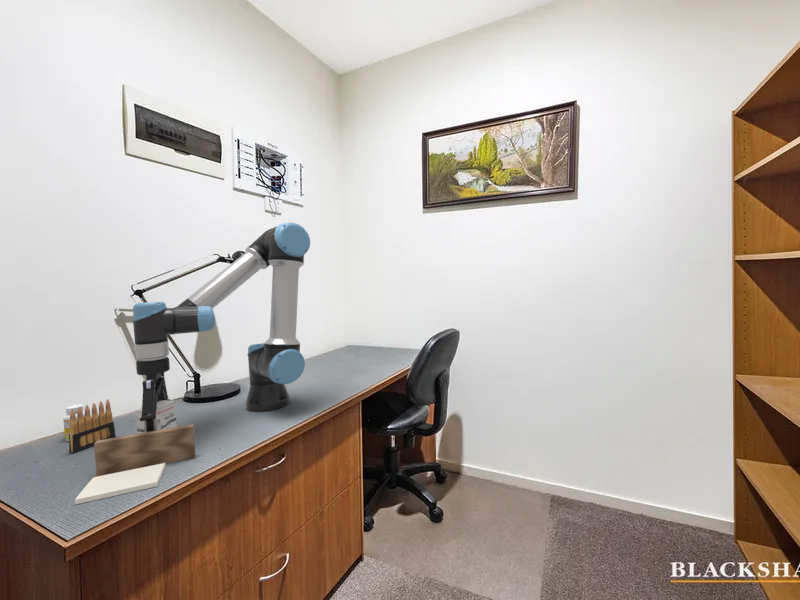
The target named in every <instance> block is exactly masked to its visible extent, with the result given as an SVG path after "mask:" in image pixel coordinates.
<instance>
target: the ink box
mask: <svg viewBox="0 0 800 600" xmlns="http://www.w3.org/2000/svg"><path fill="white" fill-rule="evenodd" d="M135 413H136V434H139V433H145V428H144V421H140V418H141V417H142V407H139V408H137V409H136V412H135ZM148 415H149V414H148ZM156 418H157V423H158V430H163V429H168V428H174V427H178V425H177V403H176V401H173V400H170V401H168V400H162V401H159V402H157V409H156Z"/></svg>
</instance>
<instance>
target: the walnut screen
mask: <svg viewBox="0 0 800 600" xmlns="http://www.w3.org/2000/svg"><path fill="white" fill-rule="evenodd" d="M194 425H195V424H187V425H181V426H177V427H174V428H168V429H163V430H157V431H151V432H145V433H139V434H137V433H134V434H128V435H123V436H116V438H110V439H104V440H98V441H96V442H95V443H94V446H93V448H94V460H95V461H94V462H95V472H96V473H95V474H96V475H95V476H96V477H98V476H103V475H107V474H112V473H117V472H122V471H127V470H132V469H137V468H142V467H147V466H152V465H157V464H162V463H165V464H171V463H175V462H181V461H186V460H191V459H195V458H196V455H197V454H196V441H195V438H196V437H195V426H194Z"/></svg>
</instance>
